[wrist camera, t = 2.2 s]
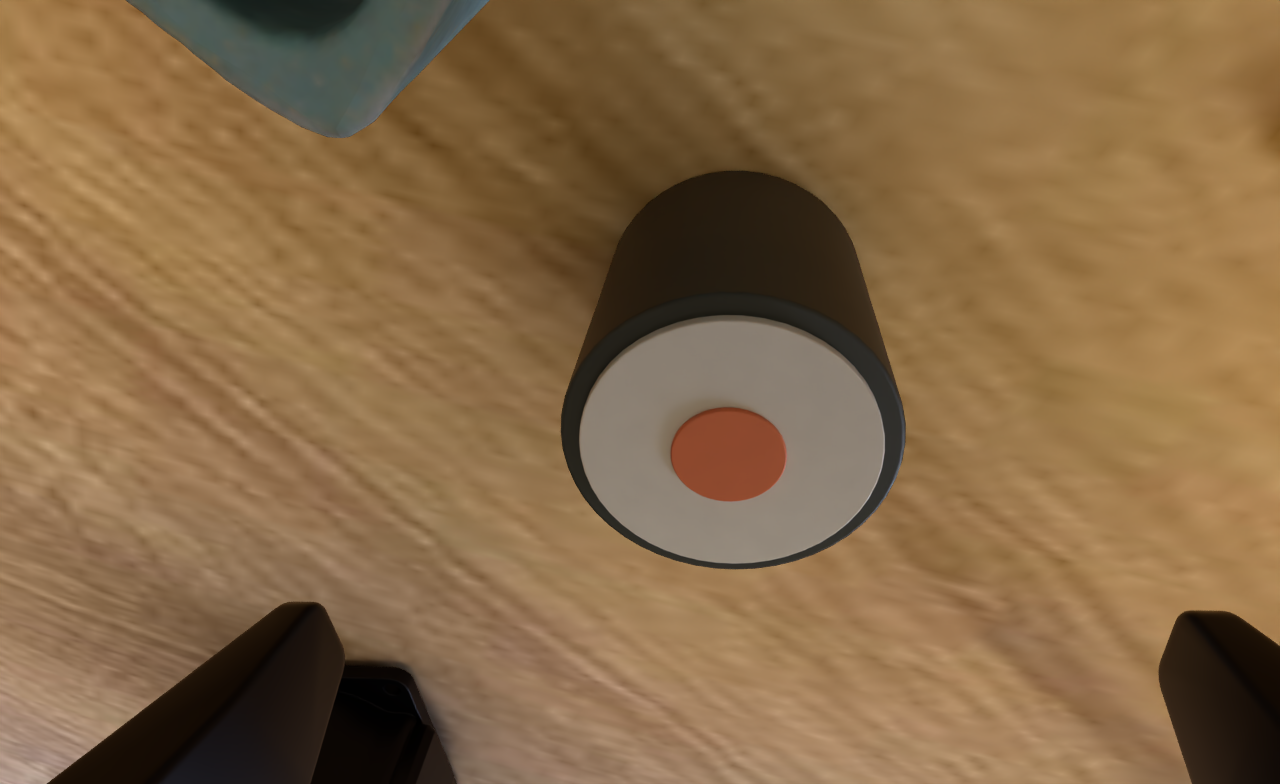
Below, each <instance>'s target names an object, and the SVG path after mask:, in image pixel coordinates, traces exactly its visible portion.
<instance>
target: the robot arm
mask: <svg viewBox="0 0 1280 784" xmlns="http://www.w3.org/2000/svg"><path fill="white" fill-rule="evenodd" d="M344 663H345V654H344V649H343V646H342V644H341V641H340V639H339V637H338V635H337V633H336V631H335V628H334V626H333V624H332V622H331V620H330V618H329V616H328V613H327V611H326V609H325V608H324V607H323V606H322V605H321V604H319V603H317V602H287V603H284V604H282V605H280V606H278V607H277V608H275V609H274V610H273V611H271V612H270V613H269V614H268V615H266V616H265V617H264V618H262V619H261V620H260V621H258V622H257V623H256V624H254V625H253V626H252V627H251V628H249V629H248V630H247V631H245V632H244V633H243V634H241V635H240V636H239V637H238V638H236V639H235V640H234V641H232V642H231V643H230V644H228V645H227V646H226V647H224V648H223V649H222V650H221V651H219V652H218V653H217V654H215V655H214V656H213V657H211V658H210V659H209V660H208V661H206V662H205V663H204V664H202V665H201V666H200V667H198V668H197V669H196V670H194V671H193V672H192V673H191V674H189V675H188V676H187V677H185V678H184V679H183V680H181V681H180V682H179V683H178V684H176V685H175V686H174V687H172V688H171V689H170V690H168V691H167V692H166V693H164V694H163V695H162V696H161V697H159V698H158V699H157V700H155V701H154V702H153V703H151V704H150V705H149V706H147V707H146V708H145V709H144V710H142V711H141V712H140V713H138V714H137V715H136V716H134V717H133V718H132V719H131V720H129V721H128V722H127V723H125V724H124V725H123V726H121V727H120V728H119V729H117V730H116V731H115V732H114V733H112V734H111V735H110V736H108V737H107V738H106V739H104V740H103V741H102V742H101V743H99V744H98V745H97V746H95V747H94V748H93V749H91V750H90V751H89V752H87V753H86V754H85V755H84V756H82V757H81V758H80V759H78V760H77V761H76V762H74V763H73V764H72V765H71V766H69V767H68V768H67V769H65V770H64V771H63V772H61V773H60V774H59V775H57V776H56V777H55V778H54V779H52V780H51V781H50V782H48V783H47V784H457V783H456V781H455V779H454V775H453V772H452V770H451V767H450V765H449V762H448V760H447V757H446V755H445V753H444V750H443V748H442V745H441V743H440V740H439V738H438V735H437V733H436V731H435V730H434V727H433V725H432V722H431V720H430V718H429V715H428V713H427V710H426V708H425V705H424V703H423V700H422V698H421V696H420V693H419V691H418V688H417V686H416V683H415V681H414V679H413V677H412V676H411V674H409V673H408V672H407V671H405V670H403V669H400V668H395V667H367V666H344ZM1159 682H1160V687H1161V691H1162V694H1163V697H1164V700H1165V703H1166V706H1167V709H1168V712H1169V715H1170V718H1171V721H1172V725H1173V728H1174V731H1175V734H1176V737H1177V740H1178V743H1179V746H1180V749H1181V752H1182V755H1183V758H1184V761H1185V764H1186V767H1187V770H1188V773H1189V776H1190V779H1191V782H1192V784H1280V646H1279V645H1278V644H1277V643H1275V642H1274V641H1272V640H1271V639H1270V638H1268V637H1267V636H1265V635H1264V634H1263V633H1261V632H1260V631H1258V630H1257V629H1256V628H1254V627H1253V626H1252V625H1250V624H1249V623H1247V622H1246V621H1245V620H1243V619H1242V618H1240V617H1238V616H1237V615H1235V614H1233V613H1230V612H1226V611H1185V612H1183V613H1182V614H1181V615H1179V616H1178V618H1177V620H1176V622H1175V624H1174V627H1173V629H1172V632H1171V635H1170V637H1169V640H1168V643H1167V645H1166V648H1165V651H1164V653H1163V656H1162V658H1161V661H1160V665H1159Z"/></svg>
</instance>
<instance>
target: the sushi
mask: <svg viewBox="0 0 1280 784" xmlns="http://www.w3.org/2000/svg"><path fill="white" fill-rule="evenodd" d="M905 434H906V423H905V417H904V411H903V405H902V401H901V398H900V395H899V391H898V388H897V385H896V382H895V378H894V375H893V372H892V369H891V365H890V362H889V359H888V356H887V352H886V349H885V346H884V343H883V339H882V336H881V333H880V329H879V326H878V323H877V320H876V316H875V313H874V310H873V307H872V303H871V300H870V297H869V294H868V290H867V287H866V284H865V281H864V277H863V274H862V271H861V267H860V264H859V261H858V258H857V255H856V252H855V249H854V246H853V243H852V241H851V239H850V237H849V235H848V233H847V231H846V229H845V228H844V226H843V225H842V223H841V222H840V221H839V219H838V218H837V216H836V215H835V214H834V213H833V212H832V211H831V210H830V209H829V208H828V207H827V206H826V205H825V204H824V203H823V202H822V201H820V200H819V199H818V198H817V197H815V196H814V195H813V194H811V193H810V192H808V191H806V190H805V189H803V188H801V187H800V186H798V185H796V184H794V183H791V182H789V181H786V180H784V179H781V178H779V177H775V176H771V175H767V174H763V173H756V172H748V171H724V172H717V173H710V174H706V175H702V176H698V177H695V178H691V179H689V180H686V181H684V182H682V183H679V184H677V185H675V186H673V187H671V188H670V189H668V190H666V191H664V192H663V193H661V194H660V195H658V196H657V197H656V198H654V199H653V200H652V201H651V202H649V203H648V204H647V205H646V206H645V207H644V208H643V209H642V210H641V211H640V212H639V213H638V214H637V215H636V216H635V218H634V219H633V220H632V222H631V223H630V224H629V226H628V227H627V228H626V230H625V232H624V234H623V236H622V238H621V239H620V241H619V243H618V246H617V249H616V251H615V254H614V257H613V260H612V263H611V265H610V268H609V271H608V274H607V277H606V280H605V283H604V285H603V288H602V291H601V294H600V297H599V300H598V303H597V306H596V308H595V311H594V314H593V317H592V320H591V323H590V326H589V329H588V331H587V334H586V337H585V340H584V343H583V346H582V349H581V352H580V354H579V357H578V360H577V363H576V366H575V369H574V372H573V374H572V377H571V380H570V383H569V386H568V389H567V392H566V395H565V398H564V403H563V408H562V413H561V438H562V446H563V452H564V455H565V459H566V462H567V466H568V468H569V471H570V473H571V475H572V477H573V480H574V482H575V484H576V486H577V487H578V489H579V490H580V492H581V494H582V495H583V497H584V498H585V500H586V501H587V502H588V503H589V505H590V506H591V507H592V508H593V509H594V511H595V512H596V513H597V514H598V515H599V516H600V517H601V518H602V519H603V520H604V521H605V522H606V523H608V524H609V525H610V526H611V527H612V528H614V529H615V530H616V531H618V532H619V533H620V534H622V535H623V536H624V537H626V538H628V539H629V540H631V541H633V542H634V543H636V544H638V545H639V546H641V547H643V548H645V549H648V550H650V551H652V552H654V553H656V554H658V555H661V556H664V557H667V558H670V559H673V560H676V561H679V562H684V563H688V564H692V565H696V566H703V567H710V568H719V569H755V568H763V567H770V566H776V565H780V564H785V563H789V562H793V561H796V560H799V559H802V558H805V557H808V556H811V555H814V554H816V553H818V552H820V551H822V550H824V549H826V548H828V547H831V546H832V545H834V544H836V543H837V542H839V541H840V540H842V539H844V538H845V537H847V536H848V535H850V534H851V533H852V532H853V531H855V530H856V529H857V528H858V527H860V526H861V525H862V524H863V523H864V522H865V521H866V520H867V519H868V518H869V517H870V516H871V515H872V514H873V513H874V512H875V511H876V510H877V508H878V507H879V505H880V504H881V503H882V501H883V500H884V499H885V497H886V496H887V494H888V492H889V490H890V489H891V487H892V485H893V483H894V481H895V479H896V477H897V474H898V471H899V468H900V465H901V462H902V459H903V453H904V447H905Z"/></svg>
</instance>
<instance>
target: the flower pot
mask: <svg viewBox="0 0 1280 784" xmlns="http://www.w3.org/2000/svg"><path fill="white" fill-rule="evenodd" d="M126 1H127V2H128V3H130V4H131V5H133V6H134V7H136V8H137V9H138V10H140V11H141V12H143V13H144V14H145V15H146V16H147V17H148V18H149V19H150V20H152V21H153V22H154V23H155V24H157V25H158V26H159V27H160V28H162V29H163V30H164V31H166V32H167V33H168V34H170V35H171V36H172V37H174V38H175V39H177V40H178V41H180V42H181V43H182V44H183V45H184V46H186V47H187V48H188V49H189V50H190V51H191V52H192V53H193V54H195V55H196V56H197V57H198V58H200V59H201V60H202V61H204V62H205V63H206V64H207V65H209V66H210V67H211V68H213V69H214V70H215V71H216V72H217V73H219V74H220V75H221V76H222V77H223V78H224V79H225V80H227V81H228V82H230V83H231V84H232V85H234V86H235V87H237V88H238V89H240V90H241V91H243V92H244V93H246V94H247V95H249V96H250V97H252V98H253V99H255V100H256V101H258V102H259V103H261V104H263V105H264V106H266V107H267V108H269V109H271V110H273V111H274V112H276V113H278V114H280V115H281V116H283V117H285V118H287V119H288V120H290V121H292V122H294V123H295V124H297V125H299V126H301V127H303V128H305V129H308V130H311V131H313V132H316V133H318V134H321V135H323V136H326V137H334V138H345V137H350V136H352V135H353V134H355V133H357V132H358V131H360V130H361V129H363V128H365V127H366V126H368V125H369V124H371V123H373V122H374V121H375V120H376V119H377V118H378V117H379V115H380V114H381V113H382V112H383V111H384V110H385V109H386V107H387V106H388V105H389V104H390V103H391V102H392V101H393V100H394V99H395V97H396V96H397V95H398V94H399V93H400V92H401V91H402V90H403V89H404V88H405V87H406V86H407V85H408V84H409V83H410V82H411V81H412V80H413V79H414V78H415V77H416V76H417V75H418V74H419V73H420V72H421V71H422V70H423V69H424V68H425V67H426V66H427V65H428V64H429V63H430V62H431V61H432V60H433V58H434V57H435V56H436V55H437V54H438V53H439V52H440V51H441V50H442V49H443V48H444V47H445V46H446V45H447V44H448V43H449V42H450V41H451V40H452V39H453V38H454V37H455V36H456V35H457V34H458V33H459V32H460V31H461V30H462V29H463V27H464V26H465V25H466V24H467V23H468V22H469V21H470V20H471V19H472V18H473V17H474V16H475V15H476V14H477V13H478V12H479V11H480V10H481V9H482V8H483V7H484V6H485V5H486V3H487V2H488V1H489V0H126Z"/></svg>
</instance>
